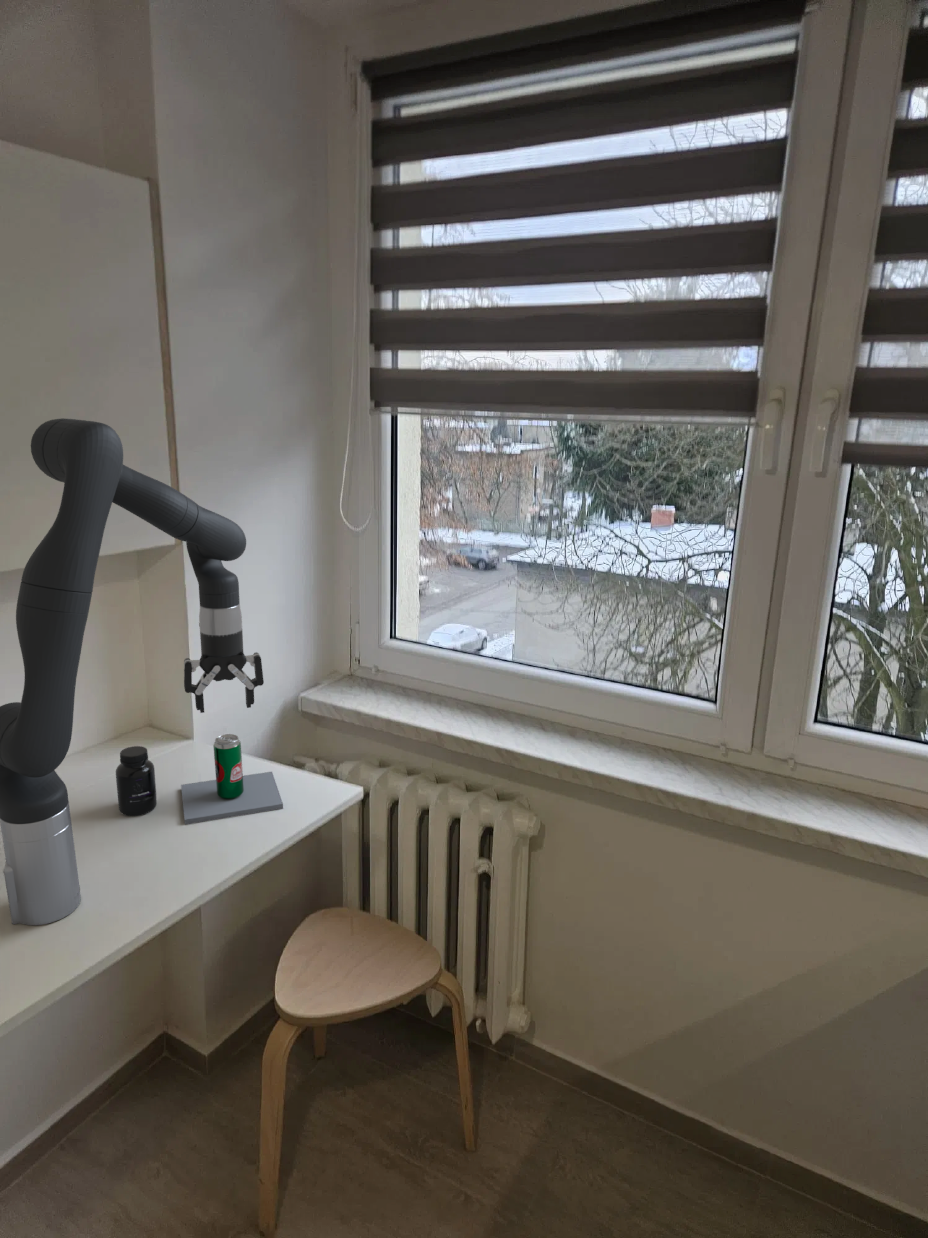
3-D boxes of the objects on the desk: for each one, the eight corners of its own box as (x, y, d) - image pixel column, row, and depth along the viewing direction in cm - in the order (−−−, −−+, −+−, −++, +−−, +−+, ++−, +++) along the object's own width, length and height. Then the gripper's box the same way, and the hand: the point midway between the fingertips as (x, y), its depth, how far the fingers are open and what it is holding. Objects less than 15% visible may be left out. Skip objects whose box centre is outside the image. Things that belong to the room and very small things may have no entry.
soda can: (236, 802, 151) (232, 745, 148) (212, 799, 152) (208, 743, 149) (248, 789, 156) (244, 734, 153) (224, 786, 157) (220, 732, 154)
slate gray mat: (185, 824, 145) (184, 819, 145) (181, 789, 158) (181, 784, 157) (283, 808, 152) (282, 803, 151) (272, 775, 164) (272, 771, 164)
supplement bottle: (140, 820, 146) (134, 762, 143) (111, 813, 148) (104, 755, 145) (165, 803, 152) (160, 747, 149) (136, 796, 154) (131, 741, 151)
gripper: (181, 636, 139) (187, 721, 143) (263, 630, 144) (266, 712, 148) (179, 624, 145) (185, 705, 150) (257, 619, 151) (261, 697, 155)
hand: (225, 708), depth 149 cm, fingers open, 8 cm apart
